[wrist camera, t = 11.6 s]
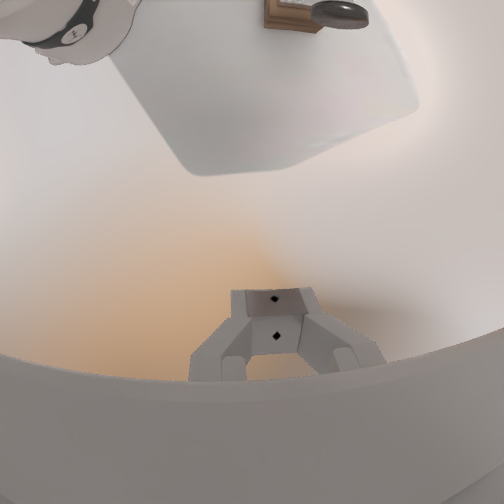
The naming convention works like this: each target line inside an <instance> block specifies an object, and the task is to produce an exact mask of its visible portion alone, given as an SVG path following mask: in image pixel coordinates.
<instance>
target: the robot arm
mask: <svg viewBox="0 0 504 504" xmlns="http://www.w3.org/2000/svg"><path fill="white" fill-rule="evenodd" d="M140 1H141V0H0V39H12V40H19V41H22V42H23V43H24V44H26V45H28V46H30V47H33V48H35V52H36V53H38V54H40V55H43V56H46V57H48V59H49V62H50V64H52V65H60V64H63V63H70V64H74V65H87V64H91V63H94V62H96V61H98V60H100V59H102V58H104V57H105V56H107V55H108V54H110V53H111V52H112V51H113V50H114V49H115V48H117V47H118V45H119V44H120V43H121V42H122V41H123V39H124V38H125V36H126V35H127V33H128V31H129V29H130V27H131V24H132V21H133V16H134V11H135V9H136V7H137V6H138V4H139V3H140ZM280 353H298V354H299V355H300V356H301V357H302V358H303V359H304V360H305V361H306V362H307V363H308V364H309V365H310V366H311V367H312V368H313V369H314V370H315V371H317V372H318V373H319V375H312V376H303V377H293V378H282V379H270V380H255V381H247V375H246V365H247V363H248V362H249V360H250V359H251V357H252V356H253V355H266V354H280ZM0 504H504V328H502V329H499V330H497V331H494V332H492V333H489V334H486V335H483V336H481V337H478V338H475V339H472V340H470V341H466V342H464V343H460V344H457V345H454V346H451V347H447V348H444V349H441V350H437V351H434V352H430V353H427V354H423V355H419V356H416V357H411V358H407V359H403V360H399V361H394V362H390V363H387V362H386V360H385V359H384V357H383V355H382V353H381V351H380V350H379V348H378V346H377V344H376V342H374V341H372V340H371V339H369V338H368V337H366V336H364V335H363V334H361V333H359V332H358V331H356V330H354V329H353V328H351V327H350V326H348V325H346V324H344V323H343V322H341V321H339V320H338V319H336V318H335V317H333V316H331V315H330V314H328V313H323V311H322V309H321V307H320V305H319V302H318V300H317V298H316V296H315V294H314V292H313V290H312V288H311V287H305V288H294V289H277V290H272V289H268V290H267V289H265V290H231V318H227V319H226V320H225V321H224V322H223V323H222V324H221V325H220V326H219V328H217V329H216V330H215V332H213V334H212V335H211V336H210V337H209V338H208V339H207V340H206V341H205V342H204V343H203V344H202V345H201V346H200V347H199V348H198V349H197V350H196V351H195V352H194V353H193V354H192V355H191V359H190V368H189V378H188V381H164V380H148V379H136V378H125V377H116V376H107V375H99V374H93V373H86V372H79V371H73V370H67V369H63V368H57V367H52V366H48V365H43V364H39V363H34V362H30V361H26V360H22V359H18V358H14V357H11V356H7V355H4V354H0Z"/></svg>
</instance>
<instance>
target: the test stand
mask: <svg viewBox="0 0 504 504" xmlns="http://www.w3.org/2000/svg"><path fill="white" fill-rule="evenodd" d="M323 27H324V26H322V25H319V24H317V23H315V22H313V21H312V20H311V13H310V10H307V9H301V8H293V7H285V6H278V0H265V19H264V28H275V29H285V30H294V31H302V32H309V33H317V32H318V31H319V30H321V29H322V28H323Z"/></svg>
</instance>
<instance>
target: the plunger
mask: <svg viewBox="0 0 504 504" xmlns="http://www.w3.org/2000/svg"><path fill="white" fill-rule="evenodd" d="M278 6H285V7H293V8H301V9H307V10H310V13H311V20H312V21H313V22H315V23H317V24H319V25H322V26H326V27H331V28H337V29H360V28H364V27H366V26H368V24H369V20H368V12H367V10H365V9H364V8H363V7H361V6H359V5H356V4H354V3H353V0H278Z"/></svg>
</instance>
